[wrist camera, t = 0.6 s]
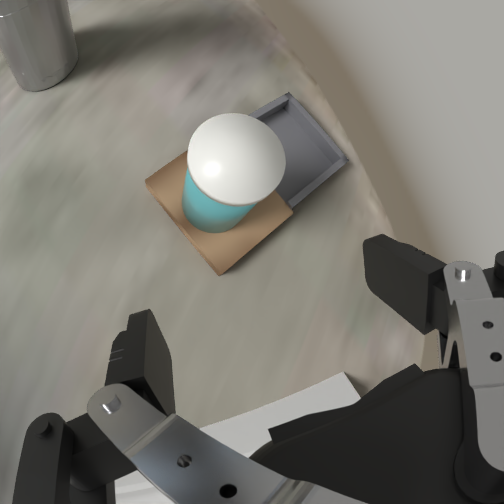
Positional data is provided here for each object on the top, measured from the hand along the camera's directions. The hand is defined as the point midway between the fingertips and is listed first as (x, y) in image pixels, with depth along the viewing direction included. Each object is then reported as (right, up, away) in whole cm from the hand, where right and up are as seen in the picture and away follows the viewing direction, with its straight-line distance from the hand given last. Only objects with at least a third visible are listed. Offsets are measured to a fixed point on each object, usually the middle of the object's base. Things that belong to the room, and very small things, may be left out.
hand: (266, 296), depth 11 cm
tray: (+3, +13, +26) cm, 29 cm away
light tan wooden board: (-4, +7, +23) cm, 24 cm away
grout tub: (-4, +6, +21) cm, 22 cm away
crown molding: (-3, -22, +20) cm, 30 cm away
